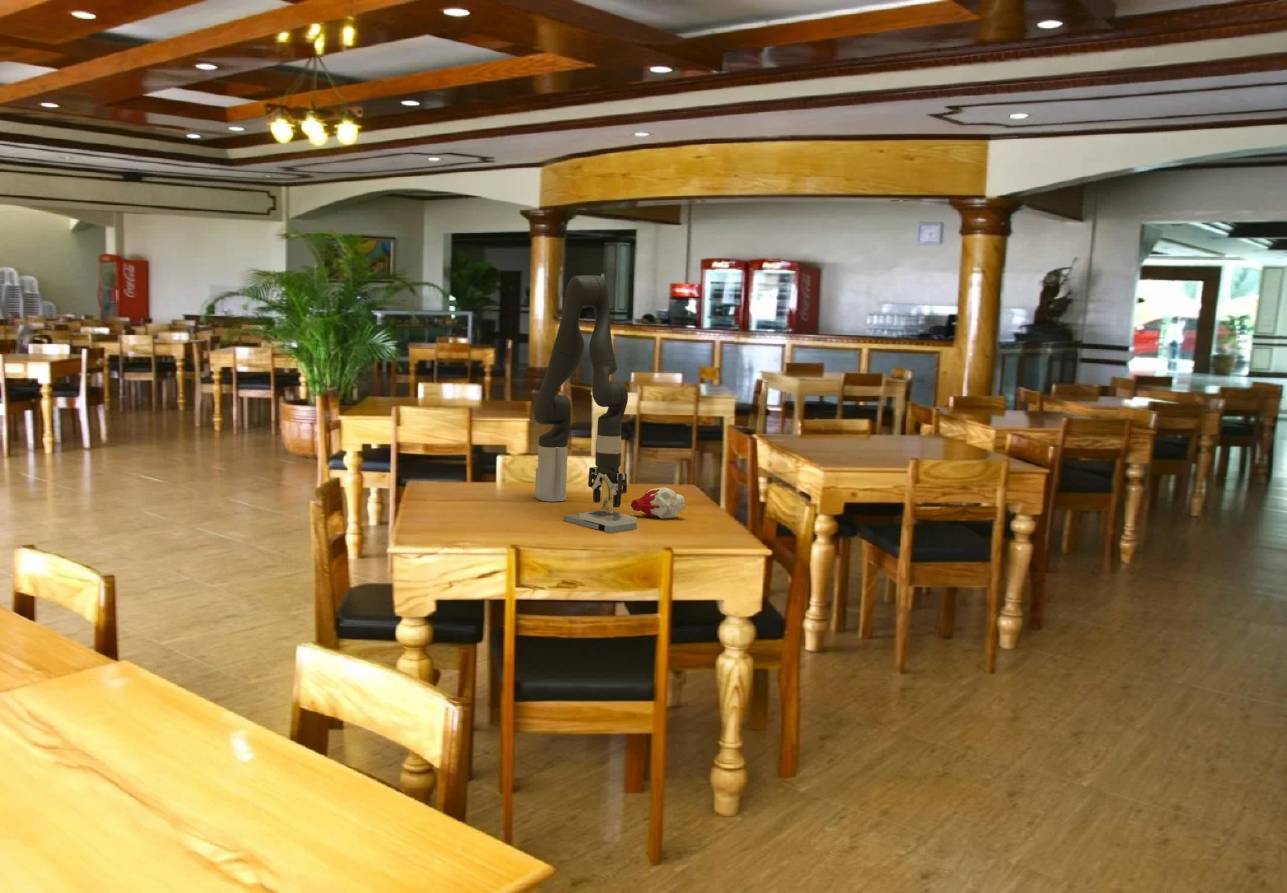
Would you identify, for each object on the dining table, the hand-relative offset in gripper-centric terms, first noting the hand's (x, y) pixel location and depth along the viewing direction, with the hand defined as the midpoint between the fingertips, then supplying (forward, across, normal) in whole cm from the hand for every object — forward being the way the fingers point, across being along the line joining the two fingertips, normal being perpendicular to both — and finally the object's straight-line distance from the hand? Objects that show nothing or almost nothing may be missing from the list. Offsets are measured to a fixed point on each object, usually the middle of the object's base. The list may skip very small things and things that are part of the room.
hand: (606, 504), depth 318 cm
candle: (+4, +8, +13) cm, 16 cm away
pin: (+4, 0, 0) cm, 4 cm away
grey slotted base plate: (+4, +8, -9) cm, 13 cm away
